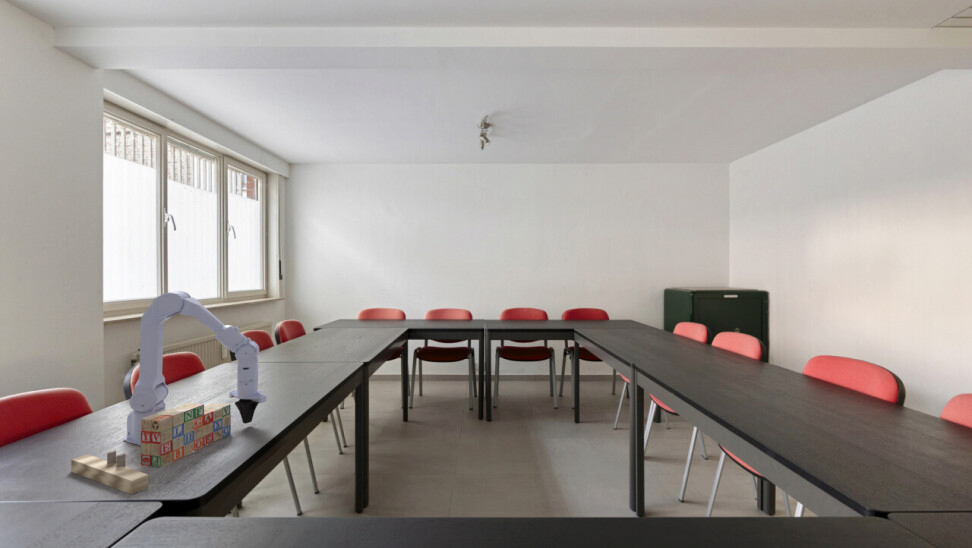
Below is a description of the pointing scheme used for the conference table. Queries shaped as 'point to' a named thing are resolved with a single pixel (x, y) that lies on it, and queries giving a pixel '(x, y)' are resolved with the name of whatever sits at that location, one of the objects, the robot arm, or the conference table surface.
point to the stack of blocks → (182, 431)
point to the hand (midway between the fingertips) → (247, 422)
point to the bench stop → (110, 472)
